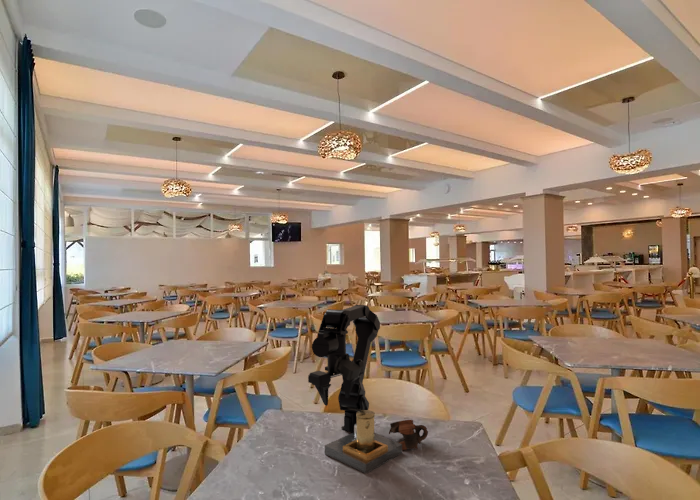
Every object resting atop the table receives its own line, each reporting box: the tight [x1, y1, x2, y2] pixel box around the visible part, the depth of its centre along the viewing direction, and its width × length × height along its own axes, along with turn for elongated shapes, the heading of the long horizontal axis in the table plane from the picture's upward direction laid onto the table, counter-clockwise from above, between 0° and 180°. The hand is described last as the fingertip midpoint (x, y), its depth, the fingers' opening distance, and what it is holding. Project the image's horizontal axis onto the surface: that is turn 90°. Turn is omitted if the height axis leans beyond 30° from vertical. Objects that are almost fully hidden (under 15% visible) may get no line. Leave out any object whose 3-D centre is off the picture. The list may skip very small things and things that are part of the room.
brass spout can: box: [356, 409, 376, 454], centre depth 114 cm, size 8×5×13 cm
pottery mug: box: [388, 419, 429, 451], centre depth 126 cm, size 12×10×8 cm
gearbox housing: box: [324, 423, 403, 474], centre depth 119 cm, size 16×16×6 cm
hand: (336, 401), depth 125 cm, fingers open, 9 cm apart
